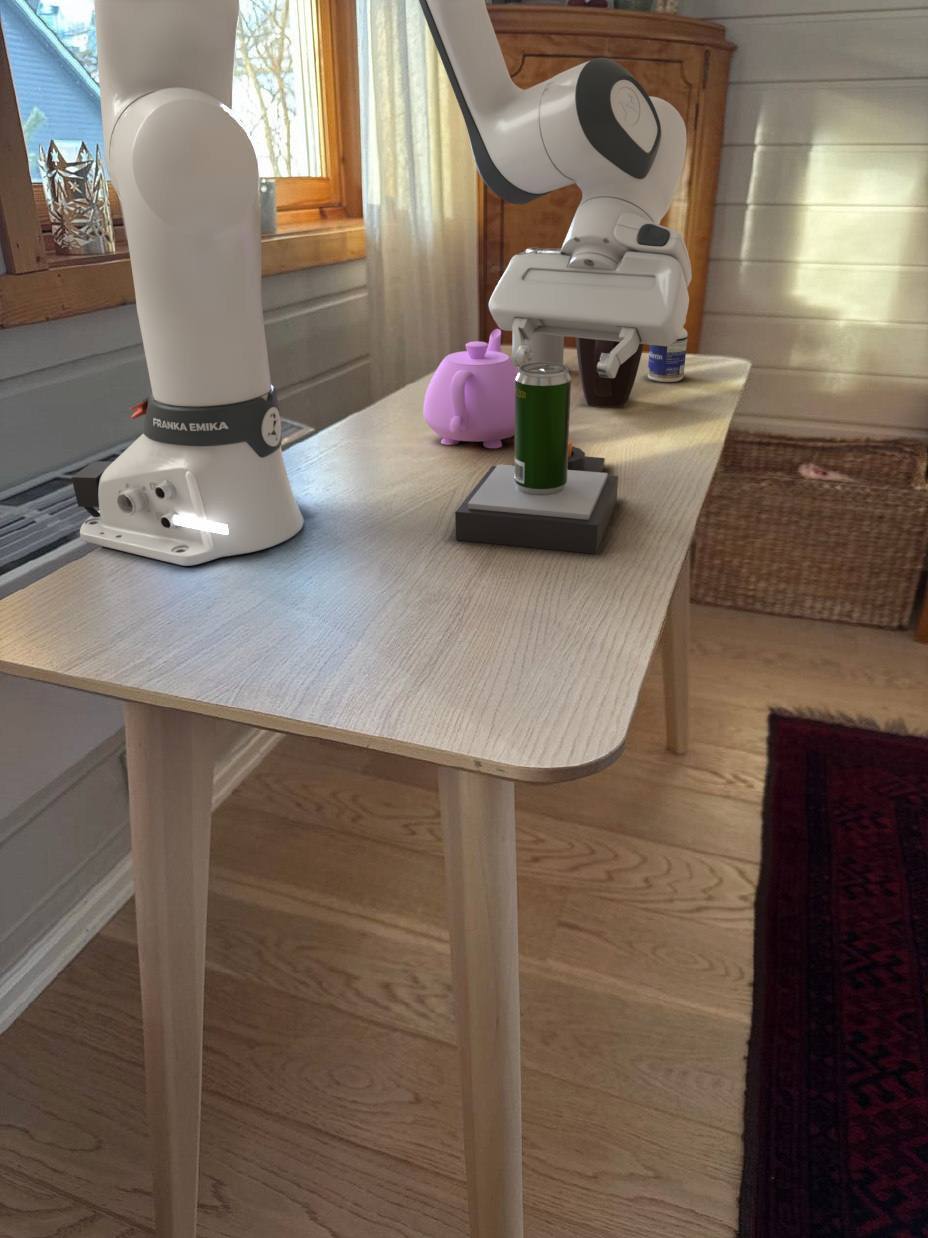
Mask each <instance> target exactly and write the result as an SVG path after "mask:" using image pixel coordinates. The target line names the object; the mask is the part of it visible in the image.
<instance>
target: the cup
mask: <svg viewBox="0 0 928 1238" xmlns="http://www.w3.org/2000/svg"><path fill="white" fill-rule="evenodd" d="M511 332H512V333H511V334H512V336H511V338H512V340H511V341H512V342H511V343H512V347H511V350H512V351H511V353H512V352H513V350H514V347H515V341H514V336H513V331H511ZM525 343H526V345H529V347H530V350H531V351H532V352H533V354H534V356H533V359H532V361H531V362H530V363H538V362H550V363H559V364H563V365H564V354H565V353H564V351H565V336H557V335H547V334H537V333H533V335H532V337H531V339H530V340H526V339H525ZM517 369H518V367H517Z"/></svg>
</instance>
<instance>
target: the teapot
mask: <svg viewBox="0 0 928 1238" xmlns="http://www.w3.org/2000/svg"><path fill="white" fill-rule="evenodd" d="M501 330H502V329H500V328H495V329H493V330H492V331H491V333H490V335H489V341H488V342H485V341H469V342H467V343H465V349H466V350H465V351H464V350H463V351H457V352H453V353H450V354H447V355H446V356H445V357H444V358H443V359H442V361H441V362H440V363H439V365H438V366H437V369H436V370H435V372H434V374H433V375H432V377H431V380H430V382H429V383H428V385H427V389H426V392H425V395H424V400H423V407H422V413H423V414H422V416H423V419H424V421H425V423H426V424H427V425H428V426H429V428H430V429H432V431H433V432H434V433H435V434H436V435H438V436H440V437H442V438H441V441H440V444H442V445H447V446H452V445H457V444H459V443H460V441H461V442H482V443H483V447H484V448H486V449H499V448H502V447H503V443H502V441H501V440H504V439H508V438H511V437H513V436H515V378H516V376H517V374H518V369H517V367H515V366H514V365H513V363H512V361H511V356H509V355H508V354H506V353H504V352H502V347H501V345H502V344H501V340H502V331H501Z"/></svg>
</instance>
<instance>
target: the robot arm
mask: <svg viewBox="0 0 928 1238" xmlns="http://www.w3.org/2000/svg"><path fill="white" fill-rule="evenodd" d="M418 2H419V5H420V8H421V11H422V13H423V16H424V18H425V21H426V23H427V26H428V29H429V31H430V35H431V36H432V39H433V42H434V44H435V47H436V50H437V52H438V55H439V58H440V60H441V62H442V66H443V68H444V71H445V72H446V75H447V78H448V81H449V84H450V85H451V88H452V91H453V94H454V96H455V98H456V101H457V103H458V107H459V109H460V111H461V115H462V117H463V120H464V124H465V126H466V131H467V133H468V139H469V143H470V147H471V152H472V156H473V160H474V163H475V166H476V167H475V168H476V170H477V172H478V174H479V176H480V178H481V180H482V181H483V182H484V184H485V185H486V186H487V187H488V188H489V190H490V191H491V192H492V193H493V194H495V195H496V196H497V197H499V198H500V199H501V200H503V201H504V202H506V203H509V204H512V205H520V206H521V205H526V204H528V203H530V202H533V201H535V200H537V199H539V198H541V197H544V196H545V195H548V194H550V193H552V192H553V191H555V190H558V189H561V188H565V187H568V186H571V185H575V184H576V186H577V187H578V188H579V190H580V191H581V194H582V196H581V197H582V198H581V201H580V203H579V205H578V206H577V209H576V211H575V214H574V215H573V219H572V221H571V224H570V226H569V228H568V231H567V233H566V236H565V238H564V240H563V243H562V246H561V248H556V247H555V248H554V247H551V248H550V247H549V248H540V247H536V246H535V247H527V249H525V251H522V252H519V253H517V254H515V255H513V256H512V257H511V259H510V261H509V263H508V265H507V267H506V269H505V270H504V272H503V274H502V276H500V279H499V281H498V283H497V285H496V286H495V288H494V290H493V292H492V294H491V296H490V299H489V301H488V310H489V312H490V314H491V317H492V319H493V320H494V322H495V324H496V325H497V327H498V329H500V330H502V331H506V332H507V331H508V332H512V331H513V336H514V341H515V347H514V350H513V352H512V351H511V355H510V358H511V361H512V363H513V365H514V366H515V367H519V366H521V365H524V364H528V363H530V362H531V361H532V359H533V356H534V354H533V352H532V351H531V350H530V347H529V345H526V343H525V339H526V340H530V339H531V337H532V335H533V333H537V334H547V335H557V336H564V337H570V338H576V337H577V338H588V339H598V340H608V341H618V342H620V343H619V344H618V345H617V346H616V347H615V348H614V349H613V350H612V351H611V352H610V353H602V354H601V356H600V361H599V362H598V364H597V372H598V373H599V376H600V377H606V378H615V376H616V374H617V371H618V368H619V366H620V364H622V363H624V362H625V361H626V360H627V359H628V358H629V357H631V356H632V355H633V354H634V353H635V352H636V351H637V349H638V346H639V344H644V345H649V346H650V345H658V346H669V345H671V344H672V343H673V342H675V341H676V340H677V339H678V338H679V337H680V335H681V332H682V329H683V328H684V325H685V324H686V323H685V319H686V320H687V315H688V310H689V304H690V297H689V291H688V287H689V286H690V284H691V282H692V264H691V260H690V255H689V252H688V249H687V246H686V243H685V240H684V238H683V236H682V234H681V233H680V232H679V231H678V230H675V229H673V228H670V227H668V226H664V225H661V221H662V219H663V218H664V217H665V215H666V214H667V213H668V211H669V210H670V207H671V205H672V202H673V199H674V197H675V195H676V191H677V189H678V185H679V182H680V180H681V176H682V173H683V169H684V163H685V158H686V151H687V142H688V141H687V139H688V138H687V137H688V136H687V128H686V123H685V121H684V119H683V117H682V116H681V114H680V112H679V110H677V109H676V108H675V107H674V106H673V105H672V104H671V103H669V102H668V101H666V100H665V99H662V98H660V97H657V96H649V95H648V93H647V92H646V90H645V89H644V87H643V86H642V85H641V83H640V82H639V81H638V80H637V79H636V78H635V76H634V75H632V74H631V72H629V70H627V69H626V67H623V65H621V64H620V63H618V62H616V61H614V60H612V59H610V58H606V57H596V58H593V59H591V60H587V61H585V62H583V63H581V64H578V65H576V66H575V65H574V66H572V67H570V68H569V69H566V70H564V71H562V72H559V73H558V74H556V75H554V76H552V77H551V78H549V79H547V80H544V81H542V82H540V83H537V84H535V85H533V86H531V87H528V88H526V89H523V88H521V87H519V86H517V85H516V83H514V82H513V79H512V78H511V75H510V73H509V70H508V67H507V64H506V61H505V59H504V55H503V52H502V48H501V45H500V43H499V40H498V37H497V35H496V32H495V30H494V29H495V28H494V27H493V23H492V20H491V17H490V15H489V14H490V13H489V12H488V9H487V4H486V0H418ZM93 3H94V5H93V6H94V19H95V21H94V22H95V23H94V24H95V37H96V52H97V53H96V54H97V65H98V66H97V67H98V81H99V82H98V85H99V96H100V110H101V124H102V125H101V126H102V136H103V137H102V138H103V149H104V161H105V166H106V171H107V175H108V178H109V180H110V183H111V185H112V187H113V189H114V191H115V192H116V194H117V195H118V197H119V198H120V203H121V207H122V213H123V214H122V215H123V219H124V224H125V233H126V239H127V246H128V251H129V252H128V253H129V258H130V266H131V272H132V279H133V287H134V294H135V295H134V296H135V303H136V313H137V317H138V323H139V329H140V334H141V337H142V339H141V340H142V345H143V351H144V356H145V361H146V366H147V371H148V375H149V381H150V382H149V383H150V387H151V394H150V395H148V396H147V397H146V398H143V400H142V402H140V403H137V404H135V405H133V406H131V407H129V410H130V411H133V410H134V411H135V410H136V409H137V410H136V411H135V412H134V413H133V414H132V415H131V416H130V418H131V419H132V420H135V419H138V418H140V417H141V416H145V417H144V422H143V427H142V434H141V435H140V436H139V437H137V438H136V439H135V441H133V442H132V443H131V444H130V445H129V446H128V447H127V448H126V449H125V450H124V451H123V452H122V453H121V454H120V455H118V456H117V458H116V459H114V461H96V460H95V461H92V462H90V463H89V464H88V465H87V466H85V467H84V468H82V469H80V471H78V472H76V473H75V474H74V475H72V476H71V478H70V479H71V482H72V487H73V491H74V495H75V499H76V503H77V506H78V508H84V509H85V510H86V511H87V512H88V513H89V515H90V516H89V517H88V518H87V519H86V520H85V521H84V522H83V523H82V525H81V526H80V528H79V537H80V538H79V539H80V541H81V542H85V543H89V544H92V545H96V546H101V547H105V548H109V549H111V550H112V549H113V550H116V551H121V552H125V553H128V554H132V555H133V554H134V555H138V556H142V557H146V558H149V559H152V560H153V559H154V560H158V561H161V562H165V563H166V562H167V563H171V564H174V565H177V566H178V565H179V566H184V567H187V566H188V567H189V566H190V567H191V566H195V565H200V564H204V563H207V562H210V561H213V560H217V559H220V558H225V557H230V556H237V555H243V554H244V555H245V554H249V553H253V552H259V551H262V550H265V549H269V548H271V547H274V546H277V545H280V544H282V543H284V542H286V541H288V540H290V539H291V538H293V537H294V536H295V535H297V534H299V532H300V531H301V530H302V528H303V527H304V523H305V519H304V517H303V514H302V511H300V510H301V509H300V508H299V505H298V503H297V500H296V498H295V495H294V491H293V489H292V486H291V482H290V479H289V475H288V472H287V468H286V464H285V460H284V459H285V458H284V456H283V449H282V442H283V441H282V435H283V434H282V421H281V415H280V414H281V413H280V407H279V406H280V405H279V399H278V394H277V389H276V387H275V386H274V385H273V384H272V380H271V373H270V364H269V356H268V347H267V339H266V329H265V321H264V312H263V301H262V298H263V297H262V225H261V224H262V223H261V222H262V221H261V220H262V219H261V201H260V165H259V159H258V156H257V155H258V154H257V151H256V148H255V146H254V143H253V141H252V139H251V136H250V134H249V133H248V131H247V129H246V128H245V126H244V124H243V123H242V121H240V119H239V118H238V117H237V115H236V114H235V113H234V112H233V96H234V76H235V75H234V74H235V59H236V57H235V56H236V46H237V45H236V43H237V33H238V23H239V20H240V0H93ZM684 323H685V324H684ZM96 508H98V509H99V510H97V509H96Z"/></svg>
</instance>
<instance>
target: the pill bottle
mask: <svg viewBox="0 0 928 1238" xmlns="http://www.w3.org/2000/svg"><path fill="white" fill-rule="evenodd" d="M686 322H687V318H686V319H685V323H684V325H685V324H686ZM687 346H688V331H687V329H685V327H683V329H682V332H681V335H680V337H679V338H678V339H677V340H676V341H675V342H673V343H672V344H671V345H669V346H658V345H649V350H648V363H647V364H648V365H647V378H648V379H649V380H652V381H653V382H658V383H677V382H679V381H681V380H683V378H684V375H685V368H686V367H685V366H686V357H687V355H686V354H687Z"/></svg>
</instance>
